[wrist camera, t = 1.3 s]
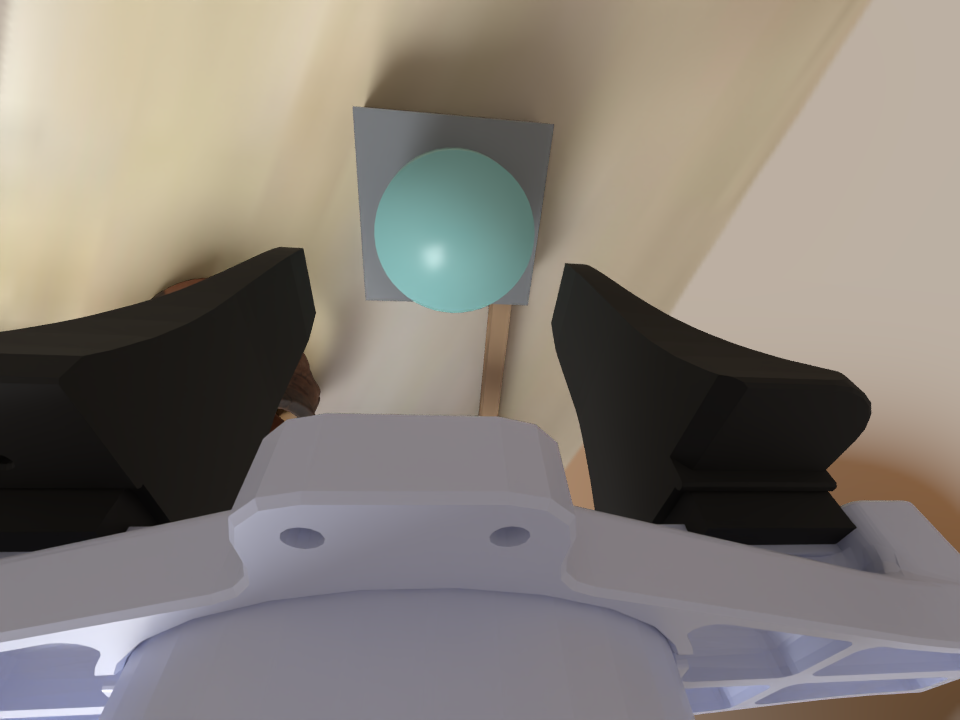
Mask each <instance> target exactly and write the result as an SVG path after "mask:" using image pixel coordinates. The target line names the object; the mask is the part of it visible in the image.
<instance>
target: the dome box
mask: <svg viewBox="0 0 960 720" xmlns="http://www.w3.org/2000/svg"><path fill="white" fill-rule="evenodd" d="M353 119H354V133H355V148H356V163H357V178H358V193H359V208H360V222H361V237H362V252H363V267H364V282H365V297H366V300H380V301H411V302H414V301H413V300H411V299H410V298H408V297H407V296H406V295H404V294H403V293H402V292H401V291H400V290H399V289H398V288H397V287H396V286H395V285H394V284H393V283H392V281H391V280H390V279H389V277H388V276H387V274H386V272H385V271H384V269H383V267H382V265H381V262H380V260H379V257H378V254H377V250H376V245H375V237H374V226H375V218H376V212H377V209H378V206H379V202H380V200H381V198H382V196H383V194H384V192H385V190H386V188H387V186H388V185H389V183H390V182H391V180H392V179H393V177H394V176H395V175H396V174H397V172H398V171H399V170H400V169H401V168H402V167H403V166H404V165H406V164H407V163H408V162H409V161H411V160H412V159H414V158H415V157H417V156H419V155H421V154H423V153H426V152H429V151H432V150H435V149H441V148H464V149H469V150H473V151H476V152H479V153H481V154H483V155H485V156H488V157H489V158H491V159H492V160H494V161H495V162H497V163H498V164H499V165H501V166H502V167H503V168H504V169H505V170H507V171H508V172H509V173H510V174H511V175H512V176H513V177H514V178H515V180H516V181H517V182H518V183H519V185H520V186H521V188H522V189H523V191H524V192H525V195H526V197H527V199H528V201H529V204H530V207H531V210H532V214H533V219H534V230H535V236H534V245H533V250H532V254H531V257H530V260H529V263H528V265H527V267H526V269H525V271H524V273H523V275H522V276H521V278H520V279H519V281H518V282H517V283H516V284H515V286H514V287H513V288H512V289H511V290H510V291H509V292H508V293H507V294H505V295H504V296H503V297H501V298H500V299H499V300H497V301H495V302H494V303H492V304H505V305H528V300H529V293H530V286H531V279H532V273H533V266H534V259H535V252H536V245H537V238H538V231H539V225H540V218H541V211H542V204H543V197H544V190H545V183H546V177H547V170H548V163H549V156H550V149H551V142H552V136H553V129H554V124H547V123H538V122H526V121H515V120H504V119H493V118H481V117H470V116H459V115H448V114H436V113H425V112H414V111H402V110H391V109H380V108H369V107H354V106H353Z"/></svg>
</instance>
